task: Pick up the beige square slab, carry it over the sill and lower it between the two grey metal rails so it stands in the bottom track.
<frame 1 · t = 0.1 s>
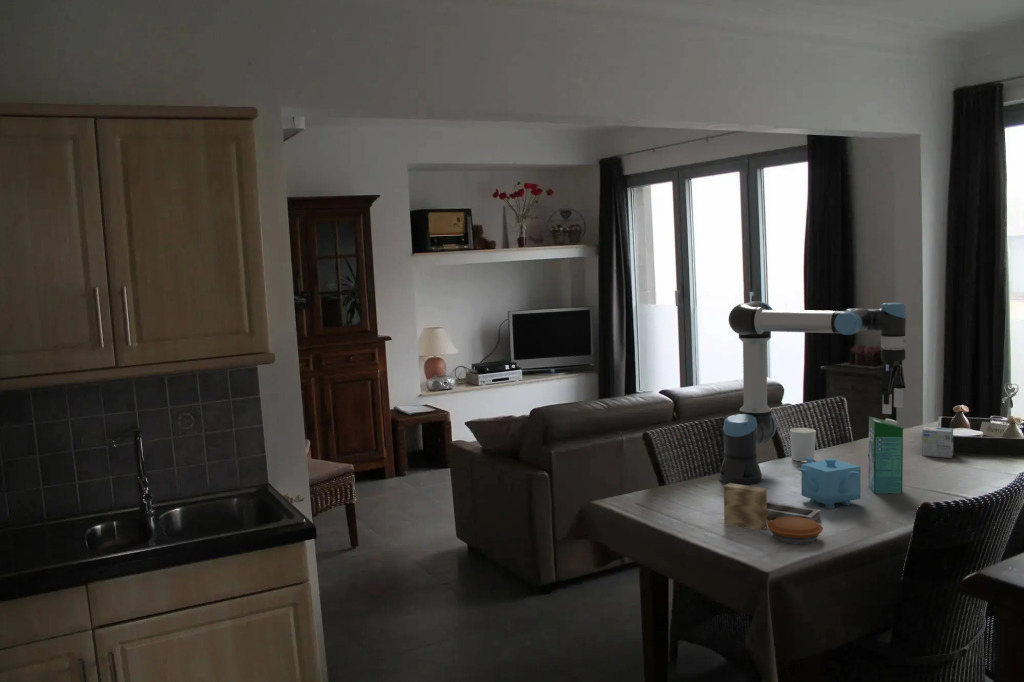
hand: (892, 410, 287), 28 cm above the table, tool pointing down, fingers open, 13 cm apart
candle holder: (802, 460, 336), on the table
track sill: (783, 517, 264), on the table
blue lidded box: (828, 503, 278), on the table
pie: (794, 538, 246), on the table
light bulb box: (937, 455, 336), on the table
milk carton: (885, 490, 291), on the table
beige square slab: (745, 525, 259), on the table
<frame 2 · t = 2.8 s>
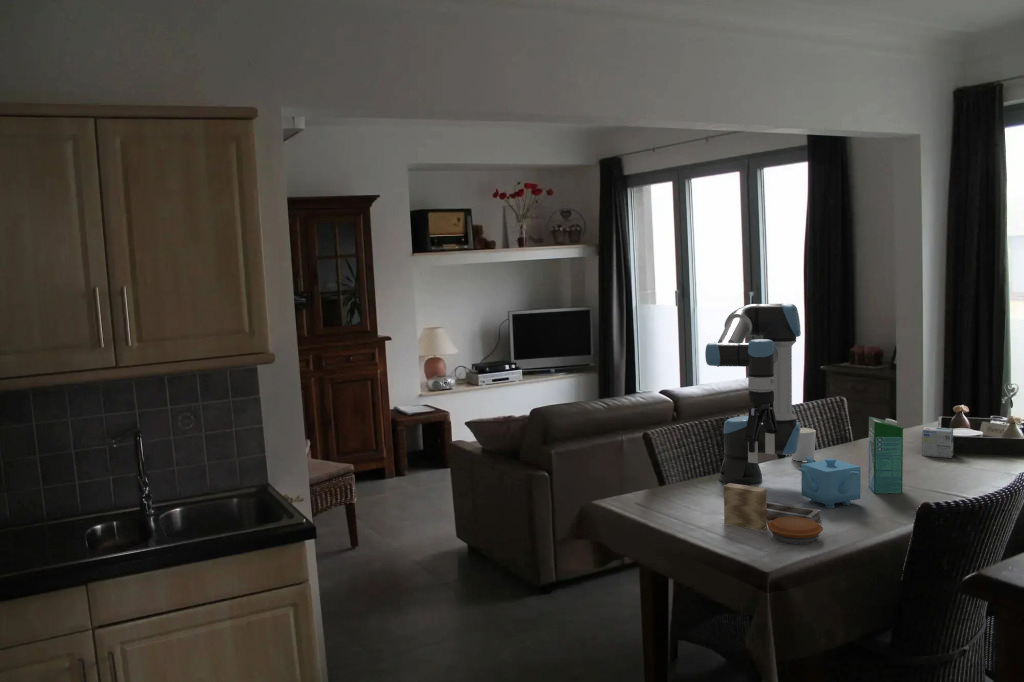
hand: (761, 458, 260), 20 cm above the table, tool pointing down, fingers open, 13 cm apart
nothing on the table moved.
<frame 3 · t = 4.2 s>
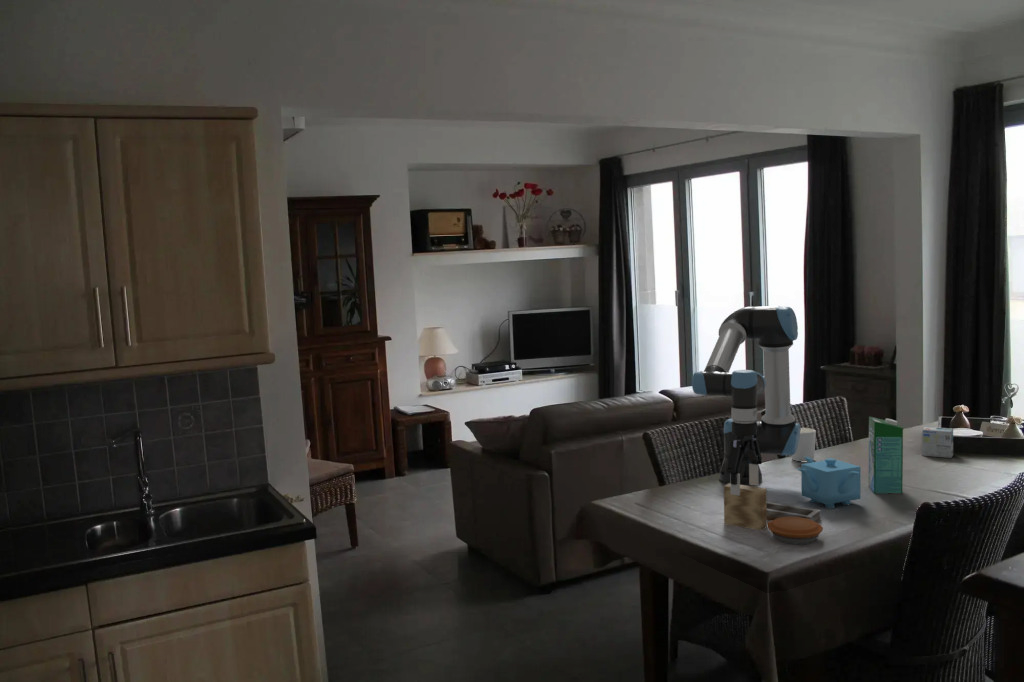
hand: (744, 489, 258), 11 cm above the table, tool pointing down, fingers open, 13 cm apart
nothing on the table moved.
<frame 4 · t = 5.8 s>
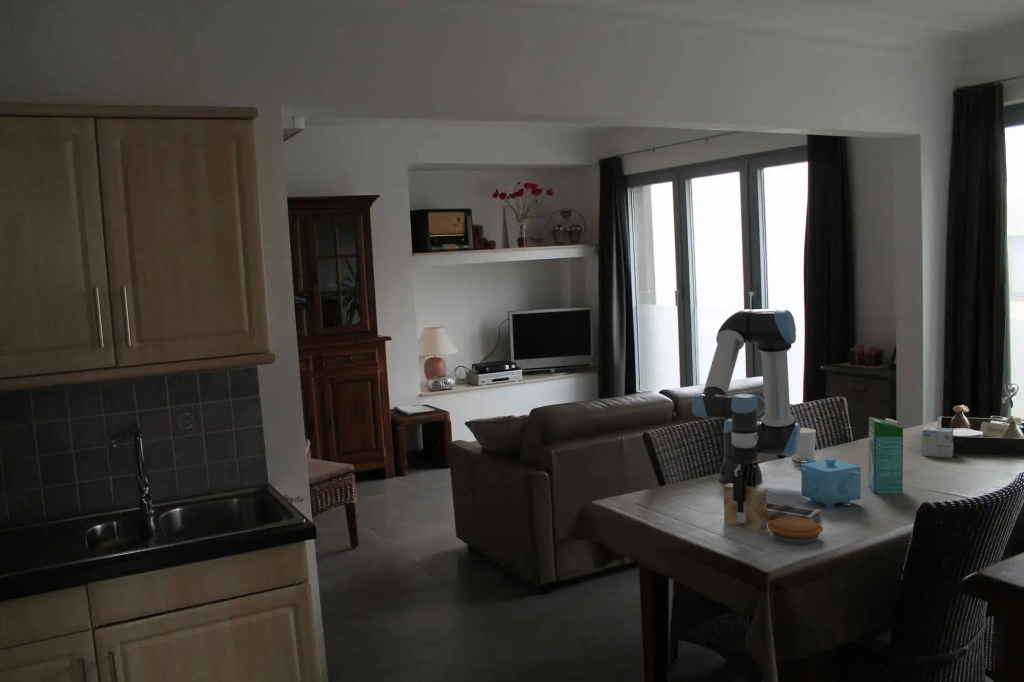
hand: (745, 519, 259), 2 cm above the table, tool pointing down, fingers closed on beige square slab, 4 cm apart
beige square slab: (745, 525, 259), on the table, touching gripper
everything else where it was.
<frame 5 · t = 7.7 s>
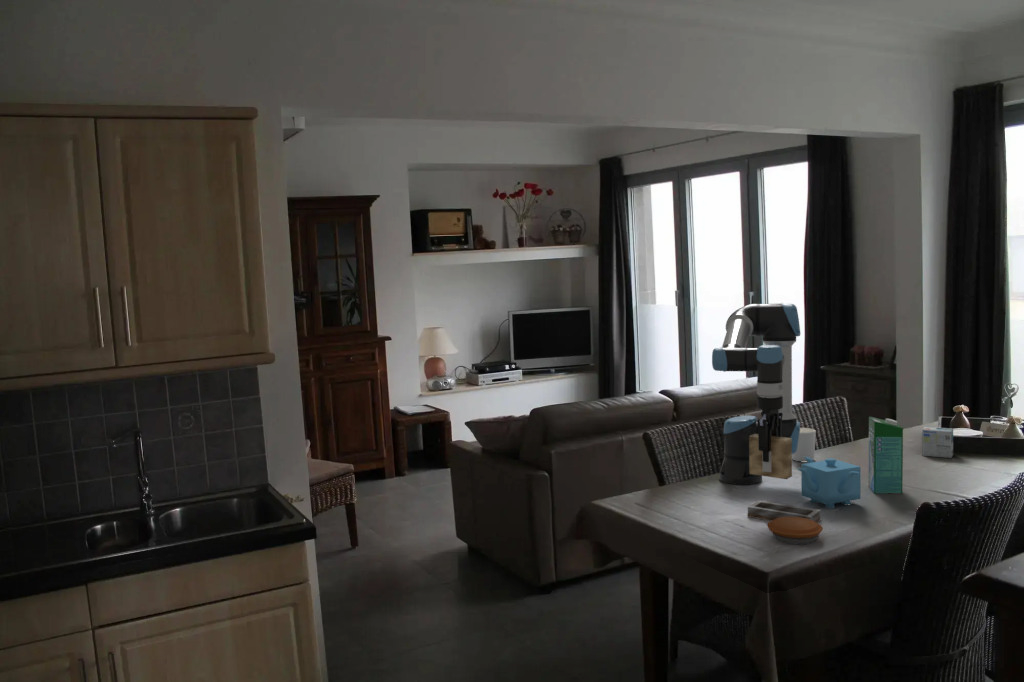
hand: (770, 469, 261), 16 cm above the table, tool pointing down, fingers closed on beige square slab, 4 cm apart
beige square slab: (770, 475, 262), point 14 cm above the table, touching gripper
everything else where it was.
when the fingers open (4 cm above the table, at t = 9.9 s): beige square slab drops 1 cm, resting on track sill.
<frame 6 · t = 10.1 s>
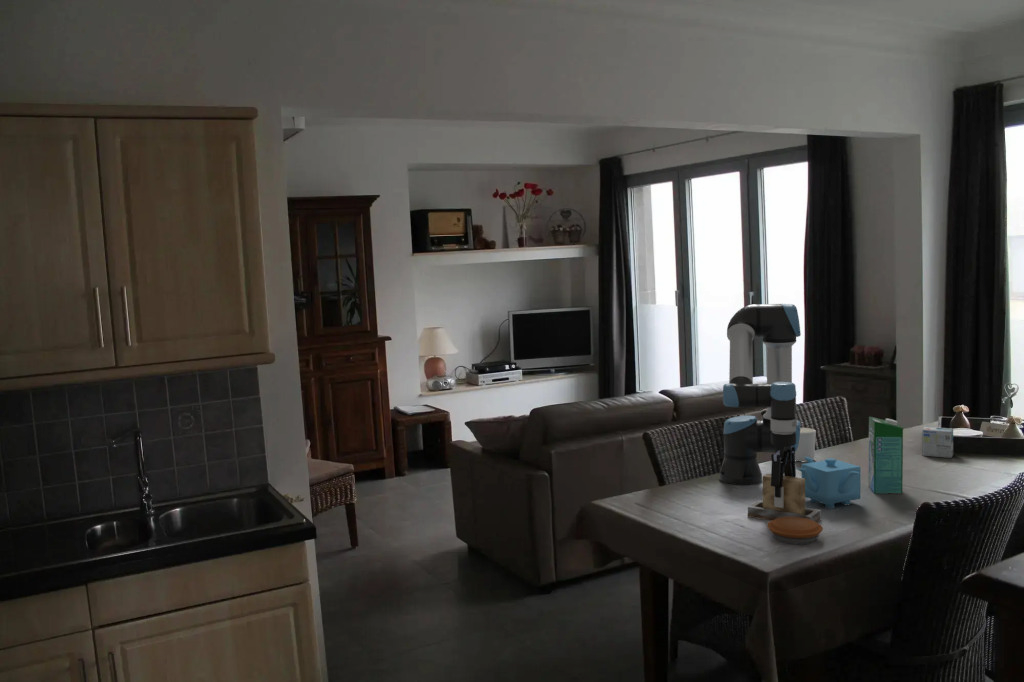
hand: (783, 503, 264), 5 cm above the table, tool pointing down, fingers open, 7 cm apart
beige square slab: (783, 514, 264), point 1 cm above the table, touching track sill
everything else where it was.
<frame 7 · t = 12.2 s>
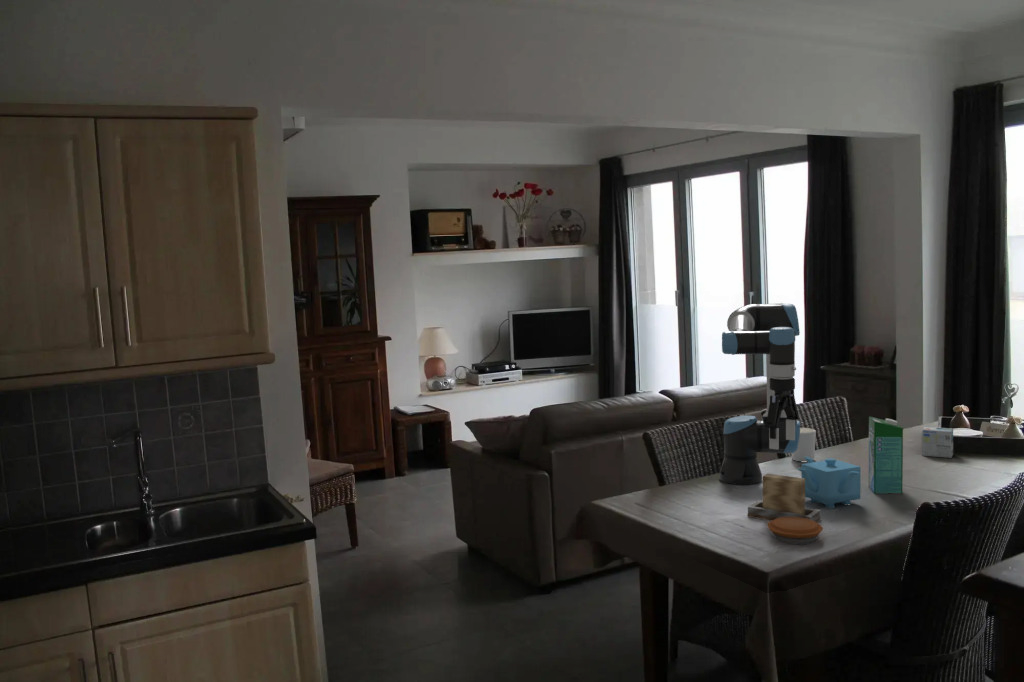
hand: (782, 444, 263), 23 cm above the table, tool pointing down, fingers open, 13 cm apart
nothing on the table moved.
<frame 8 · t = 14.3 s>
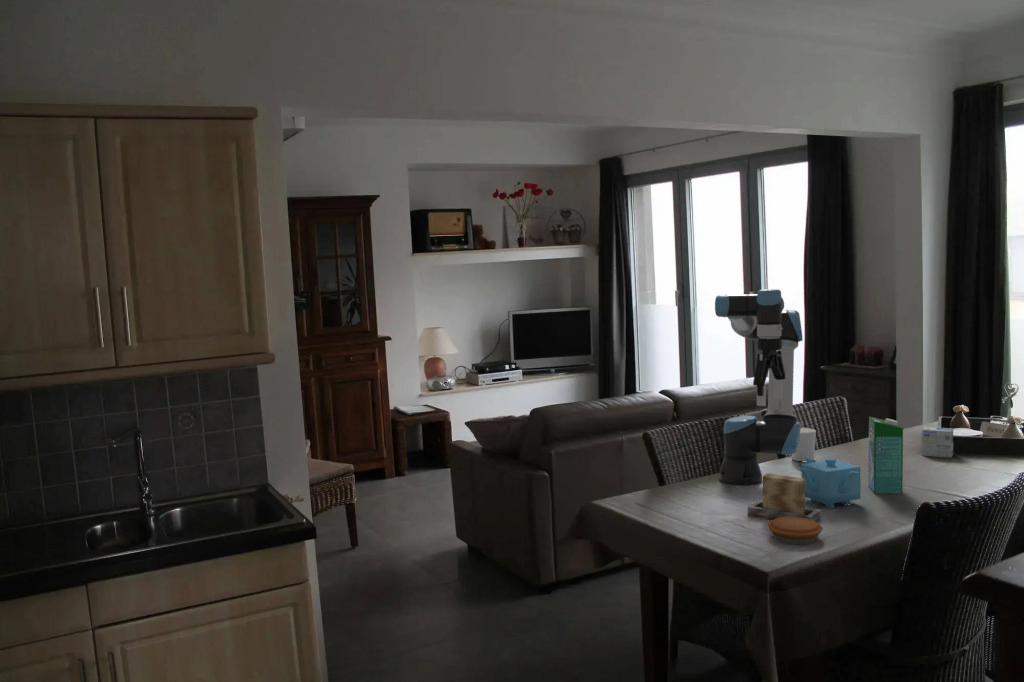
hand: (769, 402, 273), 35 cm above the table, tool pointing down, fingers open, 13 cm apart
nothing on the table moved.
at the end: beige square slab inside the target area on the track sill (0.1 cm from its centre), point 1.0 cm above the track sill's base; beige square slab tilted 0°; the gripper is holding nothing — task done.
